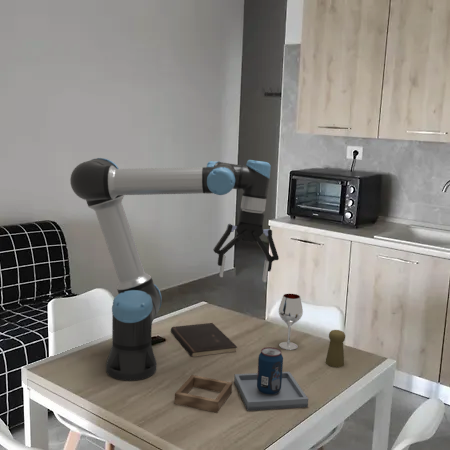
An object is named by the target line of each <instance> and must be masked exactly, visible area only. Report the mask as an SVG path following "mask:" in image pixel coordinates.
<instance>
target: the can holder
mask: <svg viewBox="0 0 450 450" xmlns="http://www.w3.org/2000/svg"><path fill="white" fill-rule="evenodd" d="M193 388H198V389H202V390H207V391H212V392H216V393H217V392H218V393H219V394H218V395H217V396H216V398H210V397H205V396H201V395H200V396H199V395H196V394H195V395H194V394H190V392H191V391H192V390H193ZM232 393H233V382H229V381H226V380H220V379H215V378H210V377H205V376H200V375H194V374H191V375H190V376H189V377H188V378H187V379H186V380H185V381H184V383H183V384H182V385H181V386H180V387H179V388H178V389H177V390H176V391H175V392H174V404H175V405H180V406H184V407H187V408H193V409H197V410H203V411H207V412H212V413H213V412H214V413H217V414H218V413H219V412H220V410H221V409H222V407H223V406H224V405H225V403H226V401H227V400H228V399H229V397H230V395H232Z"/></svg>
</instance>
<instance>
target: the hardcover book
mask: <svg viewBox="0 0 450 450" xmlns="http://www.w3.org/2000/svg"><path fill="white" fill-rule="evenodd" d="M170 332H171V334H172V336H174V337H175V339H176V340H177V341H178V342H179V343H180V345H181V346H182V347H183V348H184V350H185V351H186V353H188V354H189V356H190V357H192V358H193V357H194V358H195V357H202V356H209V355H217V354H218V355H219V354H225V353H226V354H227V353H233V352H236V351H237V349H238V346H237V345H236V344H235V343H234V342H233V341H232V340H231V339H230V338H229V337H227V336H226V334H225V333H224V332H223V331H221V330H220V329H219V328H218V326H216V324H214V323H213V322H209V323H208V322H206V323H197V324H185V325H177V326H172V327H171V328H170Z"/></svg>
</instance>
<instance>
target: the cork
mask: <svg viewBox="0 0 450 450" xmlns="http://www.w3.org/2000/svg"><path fill="white" fill-rule="evenodd" d="M328 338H329V339H328V340H329V345H328V348H327V354H326V358H325V362H324V363H325V365H327V366H329V367H333V368H342V367H344V366H345V353H344V351H345V349H344V341H346V334H345V332H344V331H342V330H340V329H332V330H331V331H329V334H328Z"/></svg>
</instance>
